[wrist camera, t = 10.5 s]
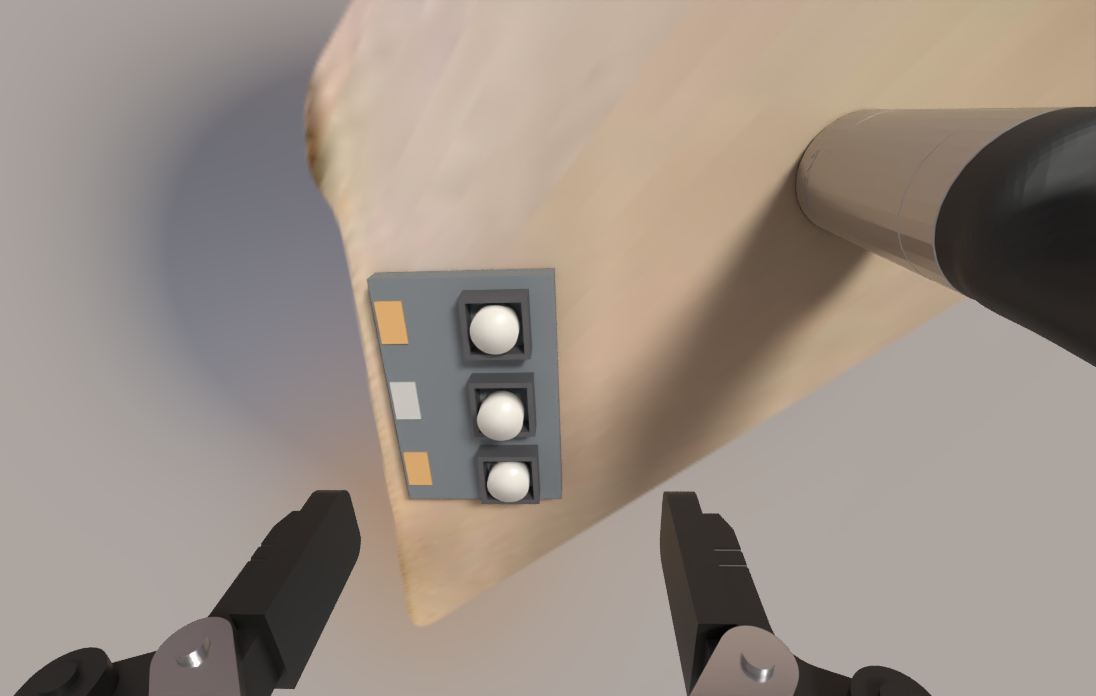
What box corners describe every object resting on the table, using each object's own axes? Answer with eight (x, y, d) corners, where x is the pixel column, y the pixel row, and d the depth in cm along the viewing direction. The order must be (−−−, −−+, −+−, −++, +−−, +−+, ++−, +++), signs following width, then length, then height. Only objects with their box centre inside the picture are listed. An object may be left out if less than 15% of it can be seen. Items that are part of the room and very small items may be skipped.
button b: (523, 390, 45) (521, 401, 43) (525, 427, 47) (523, 440, 45) (478, 390, 45) (474, 402, 43) (482, 428, 47) (479, 440, 45)
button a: (518, 301, 43) (516, 309, 41) (521, 344, 44) (519, 354, 43) (471, 302, 43) (467, 310, 41) (476, 345, 45) (472, 354, 43)
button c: (529, 456, 49) (527, 469, 48) (531, 488, 51) (529, 502, 49) (488, 456, 50) (485, 469, 48) (492, 488, 51) (489, 502, 50)
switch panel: (554, 268, 44) (552, 282, 40) (562, 486, 54) (561, 512, 51) (375, 272, 45) (357, 286, 41) (415, 486, 55) (404, 512, 52)
